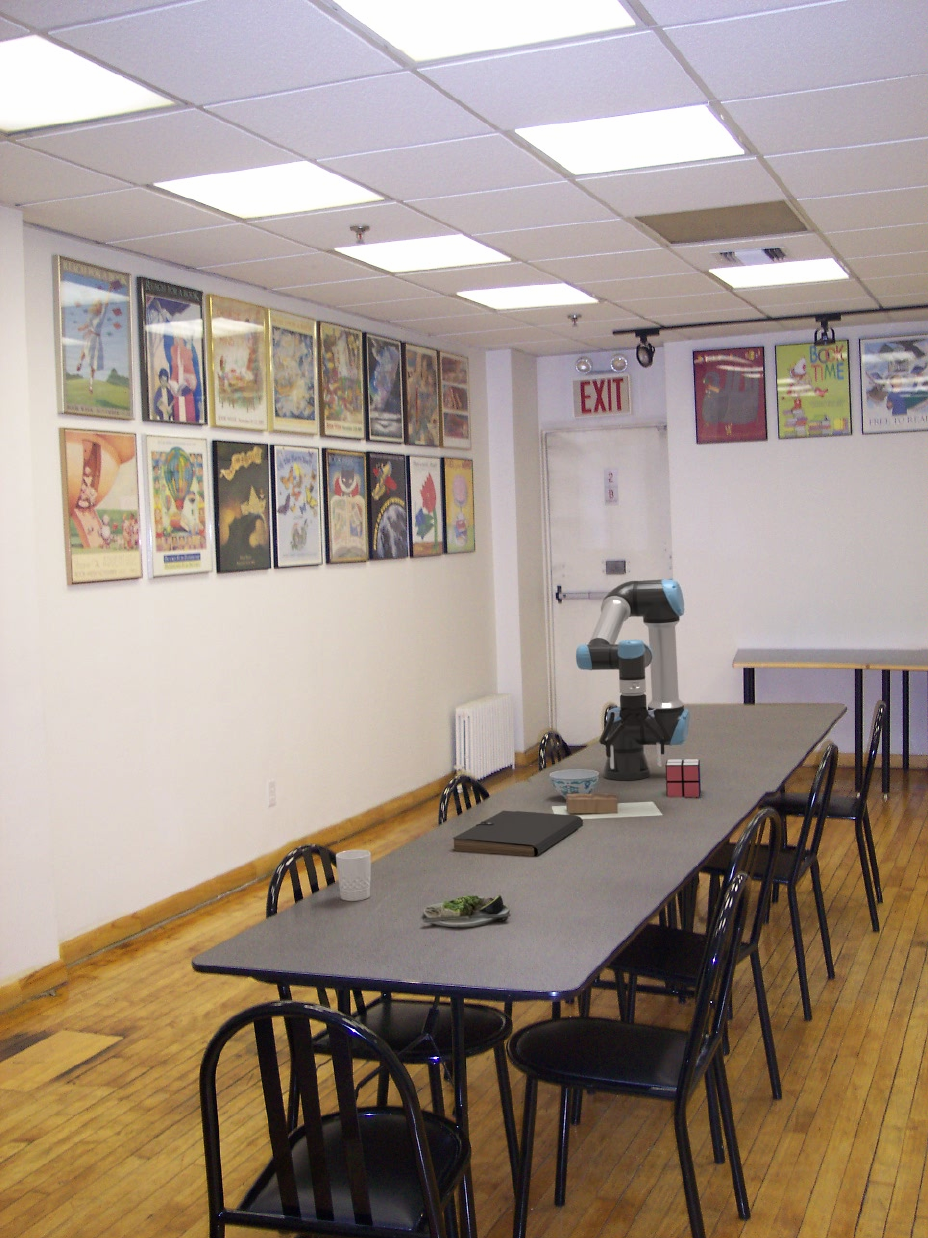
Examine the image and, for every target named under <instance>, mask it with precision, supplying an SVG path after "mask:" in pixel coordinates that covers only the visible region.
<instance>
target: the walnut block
mask: <svg viewBox="0 0 928 1238" xmlns="http://www.w3.org/2000/svg"><path fill="white" fill-rule="evenodd" d="M618 800H619V799H618V797H617V796H616V794H615V793H590V794H566V799H565V803H566V805H565V806H566V808H567V810H568V813H618V803H619V801H618Z"/></svg>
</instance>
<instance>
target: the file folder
mask: <svg viewBox="0 0 928 1238" xmlns="http://www.w3.org/2000/svg"><path fill="white" fill-rule="evenodd" d="M583 825H584V819H581V818H580V817H579V816H575V815H562V814H554V813H549V812H547V813H546V812H533V811H521V810H516V811H513V810H502V811H500V812H497V813H496V814H495V815H492V816H490V817H489V818H486V819H485V820H484V821H481V822H480V823H477V824H476V825H474V826H472V827H471V828H468V829H467V830H465V831H464V832H461V833H460V834H458V835H456V836H454V837H452V839H453V851H458V852H468V853H469V852H470V853H471V852H472V853H481V854H482V853H483V854H499V855H500V854H501V855H512V856H513V855H514V856H516V855H517V856H527V857H535V855H536V854H537V855H536V857H538V856H539V855H541V854H543V853H544V852H545V851H547V850H549V849H550V848H551V847H553V846H555V845H557V844H558V843H559V842H560V841H562V840H564V839H565V838H566V837H568V836H570V835H571V834H573V833H574V832H575V831H578V829H579V828H580V827H582V826H583Z"/></svg>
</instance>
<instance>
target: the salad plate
mask: <svg viewBox="0 0 928 1238" xmlns="http://www.w3.org/2000/svg"><path fill="white" fill-rule="evenodd" d="M510 912H511V911H510V908H509V907H507V906H506V905H504V900H503V898H502V895H500V894H499V895H498V894H497V895H495V896H494V897H486V896H479V895H473V894H472V895H463V896H459V897H456V898H455V899H450V900H446V901H444V902H439V903H433V904H429V905H427V906H425V908H424V910H423V911H422V914H423V915H424V916H425V917H424V918H422V922H423V923H425V924H426V923H427V924H434V925H436V926H439V927H448V928H458V929H461V928H465V929H466V928H474V927H478V926H482V925H488V924H493V923H494V924H495V923H497V922H501V921H503V920H505V919H506V918H508V917H510V916H512V914H510ZM440 914H441V915H440ZM439 915H440V916H439Z"/></svg>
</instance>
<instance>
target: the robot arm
mask: <svg viewBox="0 0 928 1238" xmlns="http://www.w3.org/2000/svg"><path fill="white" fill-rule="evenodd" d="M684 601H685V600H684V594H683V591H682V587H681V586H680V583H679V582H678V581H677V580H675V579H663V578H662V579H647V580H646V579H645V580H631V581H626V582H623V583H621V584H619V585H617V586H616V587H615V588H613V589H611V590H610V592H608V593H607V594H606V596H605V597H604V599H603V600H602V602H601V604H600V612H601V613H600V616H599V617H598V620H597V622H596V625H595V628H594V629H593V632H592V635H591V637H590V640H589V641H588V644H586V643H585V644H580V645H578V646H577V648H576V653H575V659H576V660H575V661H576V665H577V667H578V669H579V670H584V671H596V670H597V671H600V670H601V671H602V670H607V671H608V670H609V671H610V670H615V671H616V670H617V671H618V679H619V680H618V681H619V682H618V684H619V685H618V686H619V688H618V689H619V694H620V695H619V706H618V707H617V706H616V707H614V708H611V709H610V710H608V712H607V717H606V718H607V719H606V725H605V726H604V728H603V731H602V733H601V735H600V738H599V741H598V742H599V744H600V745H603V746H605V755H606V761H605V765H604V768H603V777H604V778H605V779H607V780H608V779H609V780H616V781H635V780H643V779H647V778H649V777H650V776H651V769H650V768H651V767H650V766H649V763H648V760H647V758H646V754H645V750H644V747H645V746H656V764H657V765H656V766H657V767H660V768H661V767H662V755H665V746H670V747H671V746H682V745H683V744H685V743H686V741H687V738H688V733H689V729H690V728H689V727H690V717H691V716H690V710H689V709H687V708H685V706H684V705H685V704H684V702H683V701H682V700H681V699H680V698H679V697H680V696H679V680H678V679H679V678H678V675H679V674H678V657H677V655H678V654H677V638H676V626H677V625H678V623H679V622H680V621H681V620H680V617H682V616H684V614H685V602H684ZM632 617H634V618H635V617H641V618H642V619H643V620H642V622H643V624H644V625H645V626H647V628H648V644H647V643H645V642H644V641H643V640H642V639H624V640H622V639H621V640H620V641H618V644H616V642H617V640H618V637H619V634H620V632H621V629H622V627H623V624H624V622H626V621H627V620H628V619H629V618H632ZM649 666H650V684H651V686H650V687H651V700H650V701H649V703H647V695H646V692H647V684H646V682H647V681H646V668H647V667H649Z"/></svg>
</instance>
